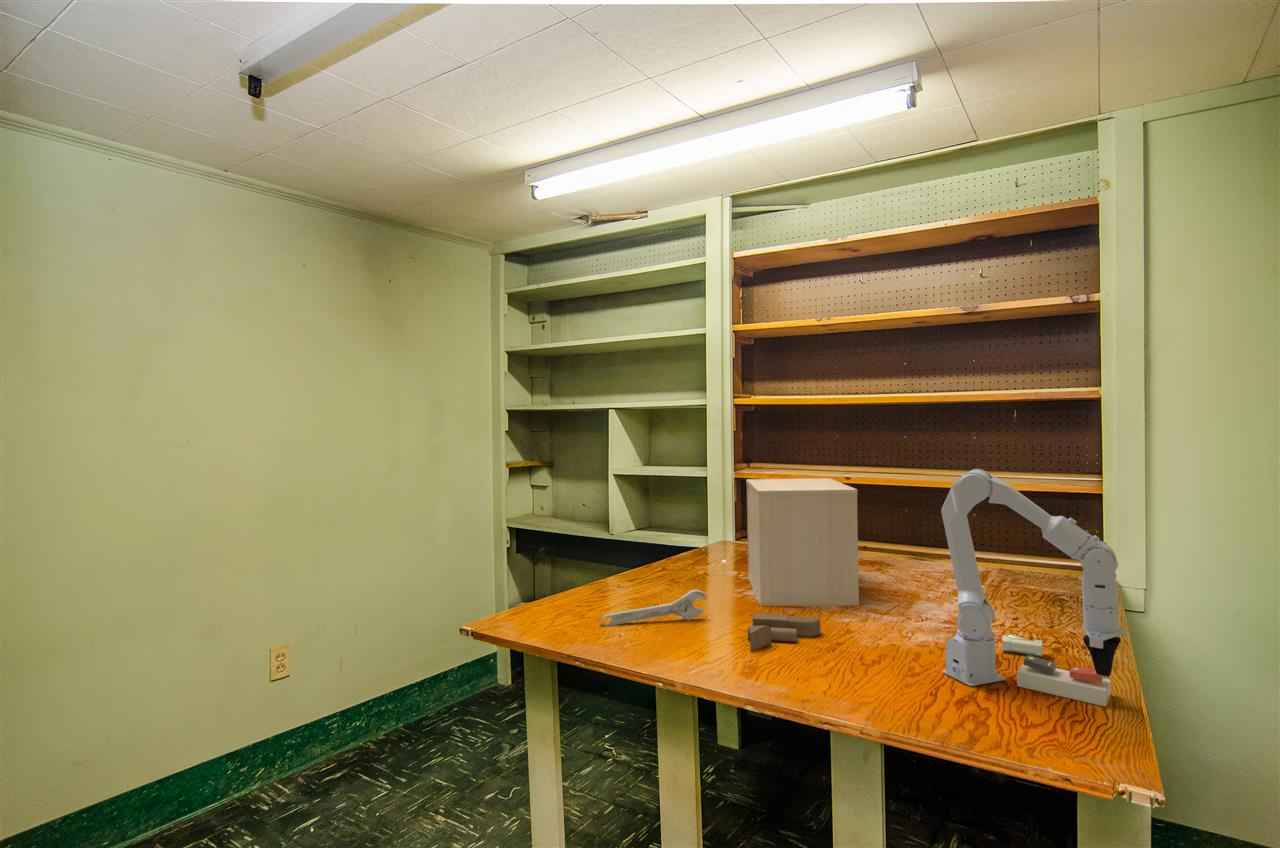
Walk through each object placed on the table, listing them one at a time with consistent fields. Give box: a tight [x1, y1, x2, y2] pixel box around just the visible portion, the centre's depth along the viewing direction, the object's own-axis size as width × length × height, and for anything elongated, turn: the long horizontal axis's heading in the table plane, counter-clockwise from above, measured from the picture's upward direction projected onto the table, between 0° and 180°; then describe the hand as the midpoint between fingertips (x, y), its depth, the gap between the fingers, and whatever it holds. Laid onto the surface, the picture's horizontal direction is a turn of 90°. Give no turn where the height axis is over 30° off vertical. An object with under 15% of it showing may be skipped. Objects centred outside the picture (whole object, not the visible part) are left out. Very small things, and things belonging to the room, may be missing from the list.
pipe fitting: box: [1001, 633, 1043, 658], centre depth 153 cm, size 8×4×7 cm
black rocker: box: [1023, 654, 1058, 675], centre depth 134 cm, size 5×3×1 cm, turn 48°
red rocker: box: [1068, 665, 1105, 682], centre depth 129 cm, size 5×3×1 cm, turn 48°
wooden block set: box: [747, 612, 822, 652], centre depth 163 cm, size 17×6×18 cm
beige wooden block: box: [745, 477, 860, 607], centre depth 210 cm, size 35×29×34 cm
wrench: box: [600, 589, 708, 627], centre depth 181 cm, size 8×2×30 cm
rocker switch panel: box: [1016, 662, 1112, 707], centre depth 132 cm, size 15×7×3 cm, turn 48°
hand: (1103, 674), depth 127 cm, fingers closed, pressing on red rocker
